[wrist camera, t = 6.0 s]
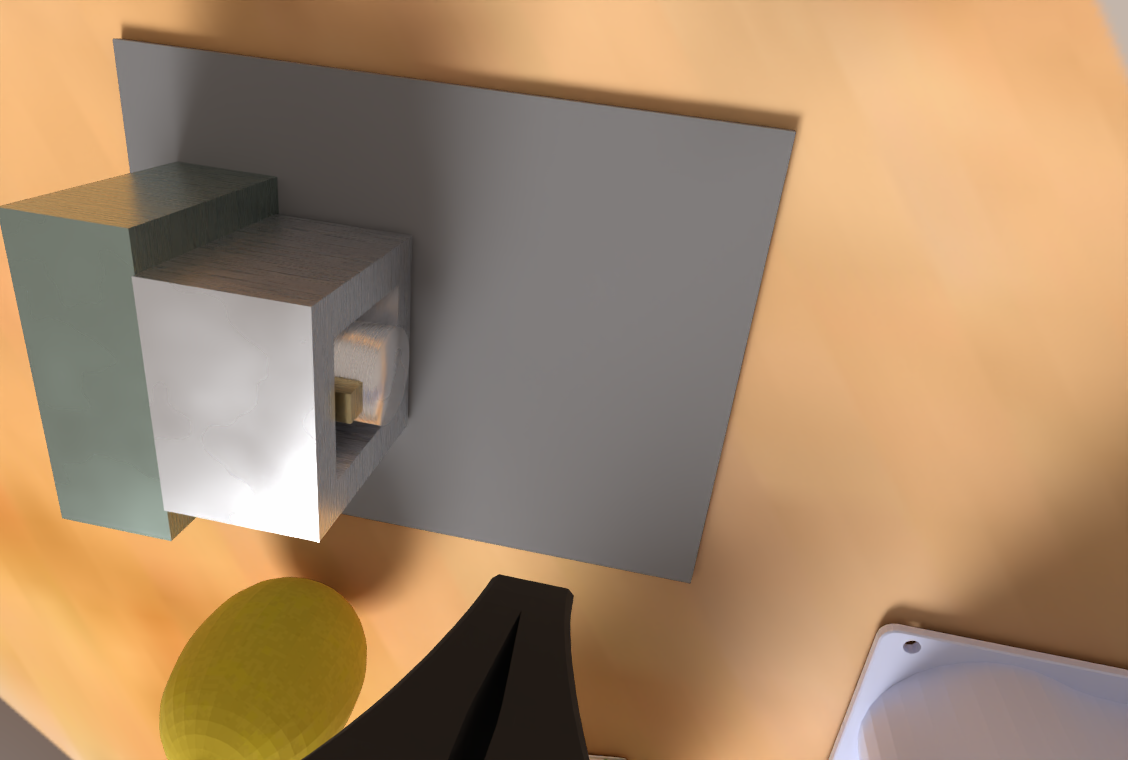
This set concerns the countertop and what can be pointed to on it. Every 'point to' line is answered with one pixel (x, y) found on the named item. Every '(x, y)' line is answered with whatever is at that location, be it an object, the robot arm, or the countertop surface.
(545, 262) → the mat
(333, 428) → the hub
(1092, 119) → the countertop surface
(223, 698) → the lemon
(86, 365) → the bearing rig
